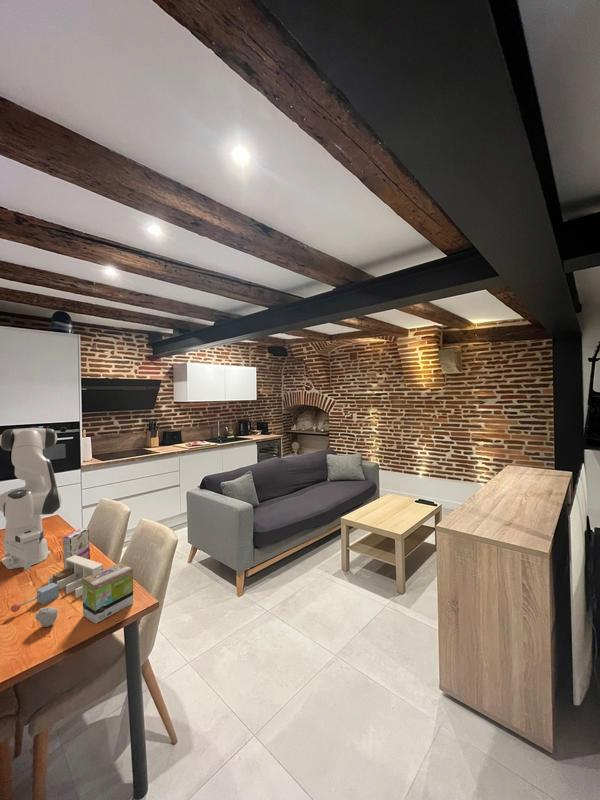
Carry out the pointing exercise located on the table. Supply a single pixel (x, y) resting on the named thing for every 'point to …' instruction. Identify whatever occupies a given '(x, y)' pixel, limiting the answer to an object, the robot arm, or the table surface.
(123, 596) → the tea box
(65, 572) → the walnut block
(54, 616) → the grey rounded lump
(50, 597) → the tethered block
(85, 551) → the candy bar box
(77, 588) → the lane shelf
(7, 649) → the table surface
